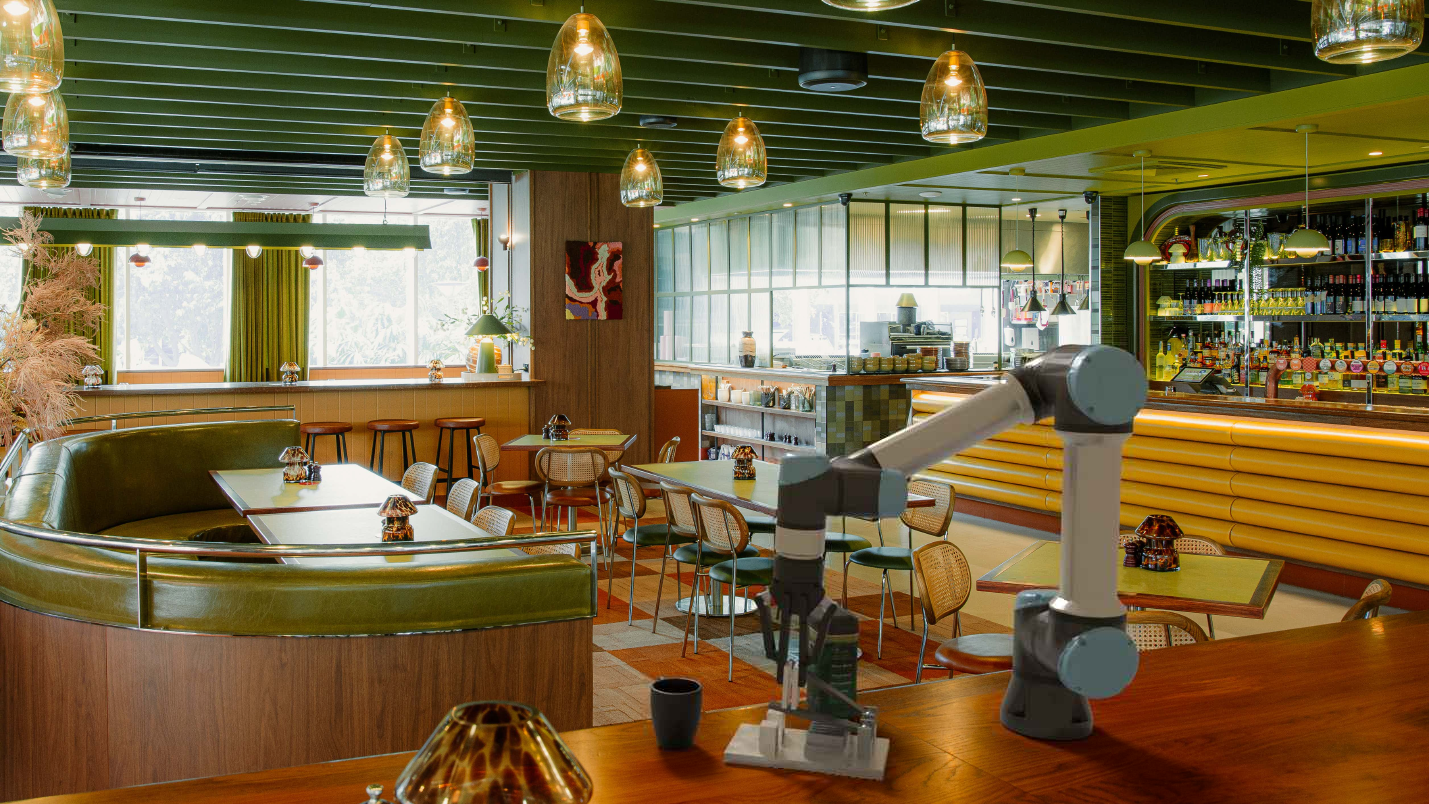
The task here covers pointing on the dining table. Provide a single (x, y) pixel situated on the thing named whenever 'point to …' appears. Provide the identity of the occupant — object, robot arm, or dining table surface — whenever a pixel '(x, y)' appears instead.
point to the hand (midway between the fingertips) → (790, 705)
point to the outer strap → (818, 717)
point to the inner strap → (835, 693)
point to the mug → (675, 711)
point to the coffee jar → (834, 662)
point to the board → (796, 752)
